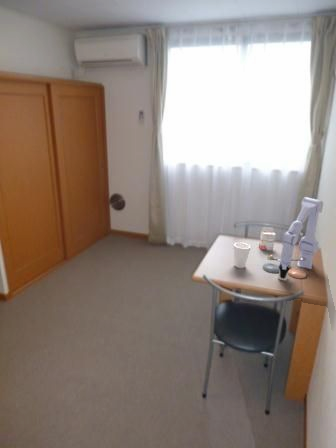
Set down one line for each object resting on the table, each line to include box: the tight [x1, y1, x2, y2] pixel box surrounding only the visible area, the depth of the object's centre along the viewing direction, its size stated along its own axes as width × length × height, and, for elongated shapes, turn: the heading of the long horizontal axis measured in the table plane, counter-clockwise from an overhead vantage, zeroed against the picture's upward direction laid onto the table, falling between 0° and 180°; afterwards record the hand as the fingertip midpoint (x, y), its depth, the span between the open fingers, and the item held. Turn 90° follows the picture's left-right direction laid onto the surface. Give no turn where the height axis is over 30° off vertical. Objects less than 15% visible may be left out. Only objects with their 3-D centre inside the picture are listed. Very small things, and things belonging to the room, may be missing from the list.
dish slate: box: [262, 263, 280, 274], centre depth 192 cm, size 10×10×1 cm
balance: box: [266, 254, 306, 269], centre depth 195 cm, size 5×22×8 cm, turn 67°
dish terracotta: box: [288, 268, 307, 279], centre depth 187 cm, size 10×10×1 cm
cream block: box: [277, 270, 289, 282], centre depth 181 cm, size 5×5×6 cm
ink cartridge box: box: [258, 226, 277, 251], centre depth 218 cm, size 9×5×15 cm, turn 92°
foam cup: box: [233, 242, 251, 269], centre depth 192 cm, size 10×9×13 cm
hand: (282, 275), depth 181 cm, fingers closed on cream block, 5 cm apart
